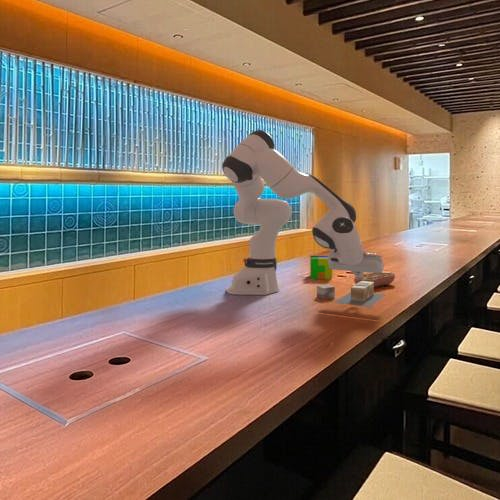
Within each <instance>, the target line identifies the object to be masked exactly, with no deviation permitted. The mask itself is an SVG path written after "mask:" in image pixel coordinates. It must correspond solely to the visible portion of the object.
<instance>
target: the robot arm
mask: <svg viewBox="0 0 500 500" xmlns="http://www.w3.org/2000/svg"><path fill="white" fill-rule="evenodd" d="M221 168H222V172H223V174H224V175H225V176H226V177H227V179H228V180H230V181H231V183H232V185H233V187H234V189H235V191H236V193H237V196H238V201H236V203H235V204H234V208H233V217H234V219H235V221H236V222H238V223H241V224H244V225H249V226H252V225H253V226H260V228H259V231H258V233H256V234H254V235H252V236H251V237H250V239H249V242H248V245H249V246H248V251H249V253H248V257H243V259H242V262H243V263H244V267H243V268H241V269H240V270H238V272H236V273H235V274H234V275H233V277H232V279H231V285H229V286H227V287H226V293H228V294H229V295H244V296H245V295H247V296H251V295H253V296H254V295H255V296H267V295H269V294H274V293H277V292H279V291H280V287H279V283H278V277H277V267H278V266H277V264H278V262H277V257H276V244H277V237H278V235H279V232H280V231H281V229H282V228H283V226H285V225H286V224H287V223H288V222H290V219H291V216H292V207H291V205H290V204H289V202H288V201H286V200H291V199H295V198H297V197H300V196H302V195H305V194H307V193H311V194H313V195H315V196H317V198H319V200H321V202H323V203H325V204H326V205H327V206H328V210H327V212H326V213H325V214H324V215H323V216H322V217H321V218H320V219H319V220H318V221H317V222H316V223H315V224H314V225H313V227H312V229H311V231H312V234H311V235H312V237H313V239H314V241H315V242H316V244H318V246H320V247H321V248H324V249H328V251H329V252H328V254H327V256H328V264H329V267H330V268H331V269H332V271H333V270H334V271H347V272H351V273H352V274H353V275H354V277H357V276H358V277H363V275H365V274H364V273H370V274H371V273H384V268H385V263H384V261H383V258H382V257H383V256H381V255H379V254H377V253H369V252H368V253H366V252H365V248H364V245H363V242H362V241H361V235H360V231H358V228H357V225H355V222H356V221H357V212H356V208H355V207H354V206H353V205H352V204H350V203H349V202H347V201H346V200H344V199H343V198H342V197H340V196H339V195H338V194H336V193H335V192H334V191H333V190H332V189H331V188H329V186H327V185H326V184H325V183H324V182H322V181H321V180H320V179H319V178H317V177H316V176H314V174H311V173H307V172H305V173H303V172H301V171H299V170H298V169H296V168H295V167H294V165H292V163H291V162H290V161H288V159H287V158H286V157H285V156H283V154H281V153H280V152H279V151H278V150H276V149H275V141H274V139H273V137H272V136H271V135H270V134H269V133H268V132H267V131H265V130H262V129H257V130H255V131H252V132H250V134H249V135H248V136H246V137H245V138H244V139H243V140H242V141H240V142H239V143H238V144H237V145H236V147H235V148H234V149H233V150H232V152H230V154H229V155H228V156H226V158H224V160H223V162H222V164H221ZM264 182H265V183H264ZM265 184H266V185H267V186H268V187H269V189H270V190H271V191H272V193H273V194H275V195H276V196H277V197H279V198H281V199H278V198H261V197H262V195H264V194H263V193H264V191H265ZM282 199H283V200H282Z"/></svg>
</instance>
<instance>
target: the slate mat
mask: <svg viewBox="0 0 500 500" xmlns="http://www.w3.org/2000/svg"><path fill="white" fill-rule="evenodd" d="M385 296H386V294H384V293H383V294H382V293H374V294H373V295H372V296H370V297H369V298H368V299H366V300H365V301H355V300H351V291H350V292H348V293H347V294H345V295H344V296H341V297H340V298H338V299H336V300H334V302H333V303H334V304H343V305H353V306H359V307H360V306H361V307H370V308H371V307H372V306H374V305H375V304H376V303H377V302H379V301H380V300H381V299H383V298H384V297H385Z"/></svg>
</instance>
